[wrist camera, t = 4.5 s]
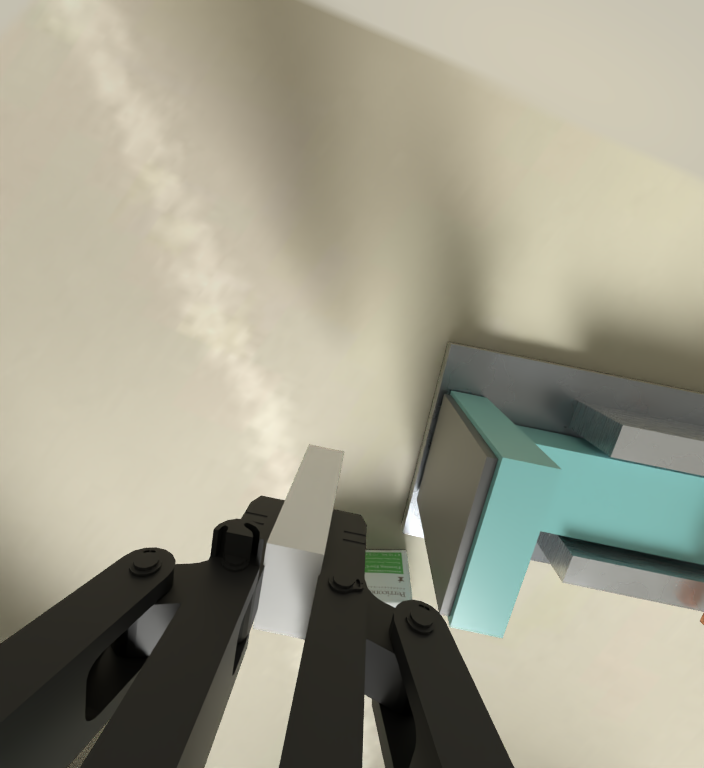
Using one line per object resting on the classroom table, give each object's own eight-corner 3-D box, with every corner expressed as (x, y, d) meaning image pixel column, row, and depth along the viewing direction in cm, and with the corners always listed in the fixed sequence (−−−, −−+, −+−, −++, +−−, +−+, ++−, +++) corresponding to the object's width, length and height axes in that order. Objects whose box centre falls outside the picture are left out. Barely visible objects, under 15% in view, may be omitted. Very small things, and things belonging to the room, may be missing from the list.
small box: (407, 546, 26) (415, 604, 21) (406, 619, 27) (413, 689, 22) (321, 544, 26) (309, 601, 21) (324, 616, 27) (314, 685, 23)
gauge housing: (401, 523, 25) (411, 610, 18) (448, 341, 22) (480, 363, 15) (820, 610, 25) (988, 731, 18) (922, 437, 22) (1167, 502, 15)
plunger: (411, 514, 24) (432, 645, 15) (448, 371, 21) (499, 426, 13) (679, 570, 23) (861, 735, 15) (744, 431, 21) (1001, 529, 13)
